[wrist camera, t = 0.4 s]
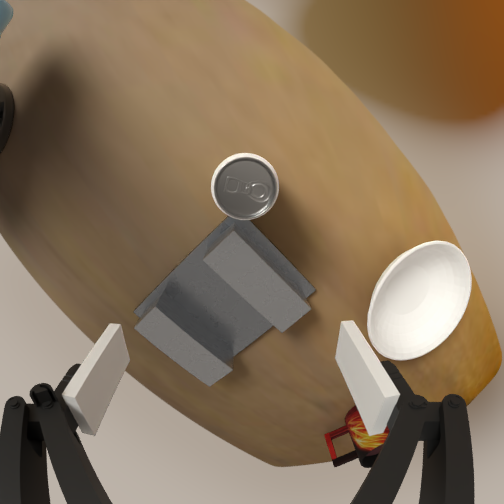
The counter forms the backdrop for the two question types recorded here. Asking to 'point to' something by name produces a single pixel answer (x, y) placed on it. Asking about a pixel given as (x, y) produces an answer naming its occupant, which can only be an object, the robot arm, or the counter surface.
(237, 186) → the can
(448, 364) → the counter surface
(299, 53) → the counter surface
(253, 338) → the gray metal fixture
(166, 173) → the counter surface
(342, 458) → the mug
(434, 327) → the bowl
